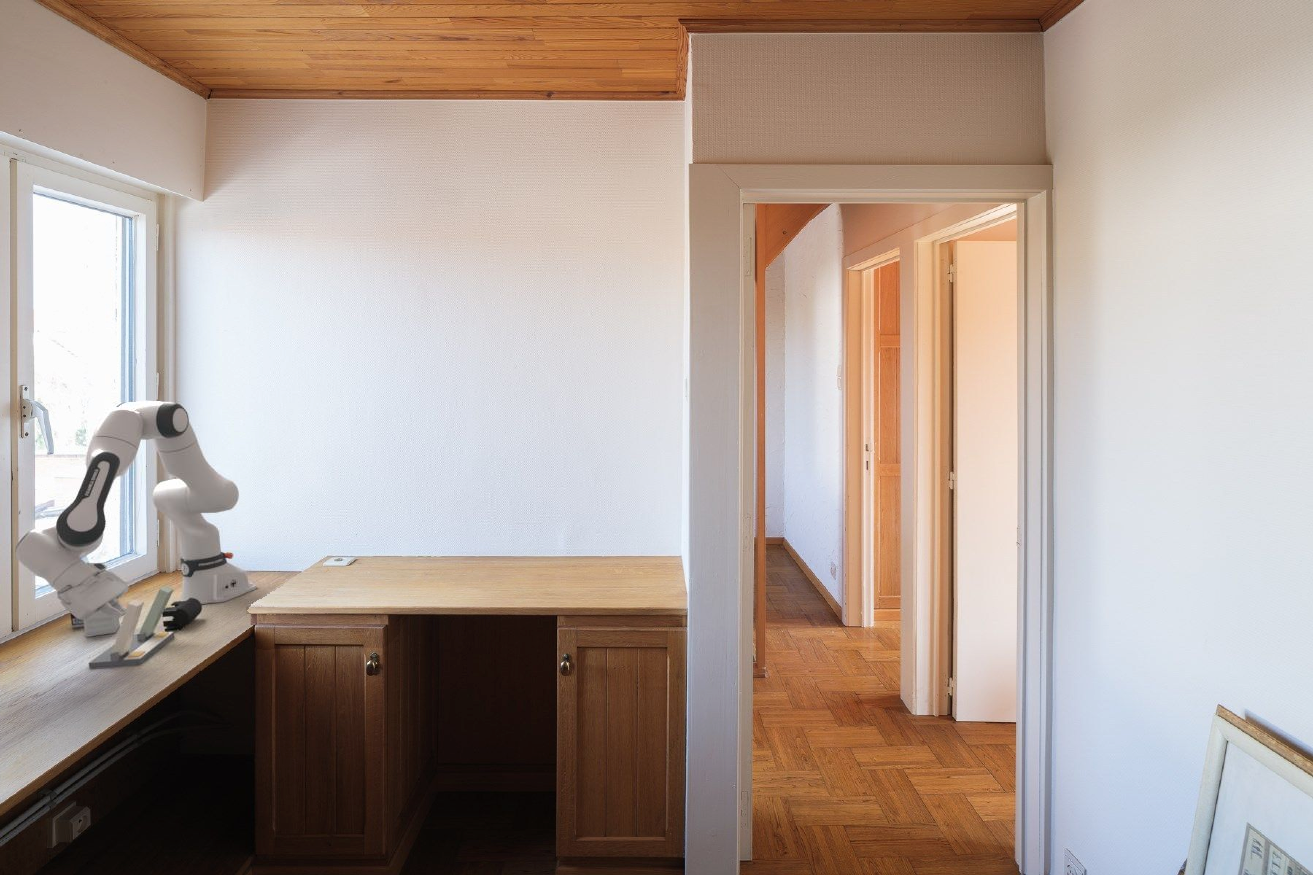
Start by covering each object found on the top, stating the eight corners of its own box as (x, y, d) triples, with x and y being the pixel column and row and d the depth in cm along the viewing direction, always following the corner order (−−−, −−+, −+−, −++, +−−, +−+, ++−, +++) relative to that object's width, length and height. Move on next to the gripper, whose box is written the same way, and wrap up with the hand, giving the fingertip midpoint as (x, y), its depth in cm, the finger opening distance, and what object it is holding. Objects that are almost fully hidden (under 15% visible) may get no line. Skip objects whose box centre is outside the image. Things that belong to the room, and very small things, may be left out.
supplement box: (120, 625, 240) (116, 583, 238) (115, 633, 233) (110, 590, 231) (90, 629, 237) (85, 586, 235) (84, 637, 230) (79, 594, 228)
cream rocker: (110, 656, 209) (127, 603, 208) (118, 651, 213) (134, 599, 212) (120, 659, 210) (137, 606, 209) (127, 653, 213) (144, 602, 212)
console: (89, 668, 208) (87, 655, 207) (128, 640, 227) (127, 627, 227) (140, 664, 209) (138, 651, 209) (174, 636, 229) (173, 624, 228)
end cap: (190, 630, 234) (187, 607, 233) (163, 632, 233) (161, 609, 232) (203, 618, 244) (201, 596, 243) (177, 620, 243) (175, 598, 242)
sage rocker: (137, 636, 223) (159, 589, 222) (143, 631, 226) (165, 585, 226) (145, 640, 223) (168, 592, 223) (152, 635, 227) (174, 588, 226)
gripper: (62, 583, 197) (110, 619, 200) (106, 561, 217) (149, 594, 220) (44, 602, 197) (92, 638, 200) (89, 578, 217) (133, 611, 220)
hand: (122, 615), depth 210 cm, fingers closed
